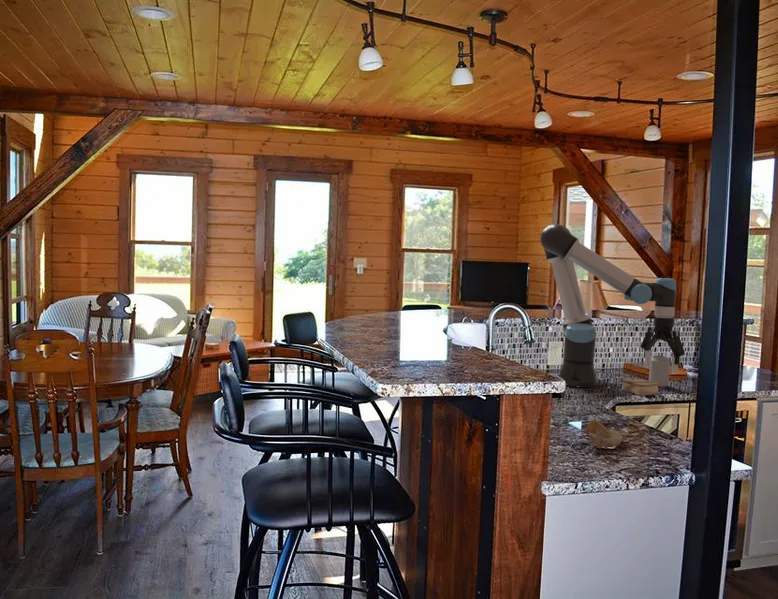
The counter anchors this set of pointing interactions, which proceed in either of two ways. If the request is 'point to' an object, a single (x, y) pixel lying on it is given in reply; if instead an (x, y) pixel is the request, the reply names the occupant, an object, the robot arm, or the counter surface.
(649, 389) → the pedestal
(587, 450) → the counter surface
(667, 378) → the can
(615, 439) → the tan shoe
